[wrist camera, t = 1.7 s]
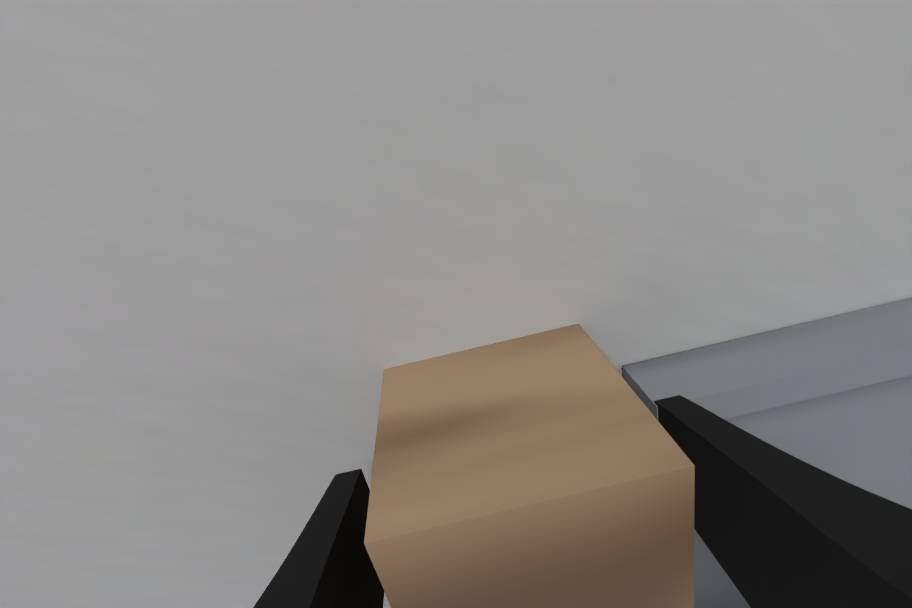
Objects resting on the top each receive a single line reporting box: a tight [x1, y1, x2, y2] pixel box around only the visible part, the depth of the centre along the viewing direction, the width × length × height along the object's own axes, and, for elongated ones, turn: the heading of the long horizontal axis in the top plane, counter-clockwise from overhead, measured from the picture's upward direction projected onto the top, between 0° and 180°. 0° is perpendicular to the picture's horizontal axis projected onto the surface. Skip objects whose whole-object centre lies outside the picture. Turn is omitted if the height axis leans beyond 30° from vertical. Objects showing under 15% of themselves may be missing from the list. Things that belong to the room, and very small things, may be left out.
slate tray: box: [622, 298, 912, 608], centre depth 13 cm, size 12×12×2 cm
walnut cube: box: [364, 324, 695, 608], centre depth 10 cm, size 5×5×5 cm
